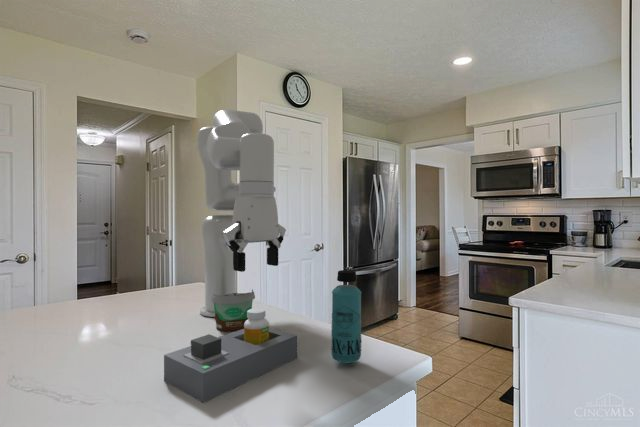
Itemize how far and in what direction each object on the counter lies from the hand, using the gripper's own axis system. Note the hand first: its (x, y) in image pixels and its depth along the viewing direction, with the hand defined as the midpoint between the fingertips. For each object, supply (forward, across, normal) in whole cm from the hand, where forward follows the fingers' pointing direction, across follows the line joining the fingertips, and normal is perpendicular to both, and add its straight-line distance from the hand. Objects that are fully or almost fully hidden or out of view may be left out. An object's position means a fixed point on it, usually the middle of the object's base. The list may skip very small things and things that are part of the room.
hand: (256, 267), depth 79 cm
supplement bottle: (+19, 0, 0) cm, 19 cm away
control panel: (+20, +6, +1) cm, 21 cm away
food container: (+21, -10, -19) cm, 30 cm away
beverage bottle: (+20, -10, +18) cm, 28 cm away
